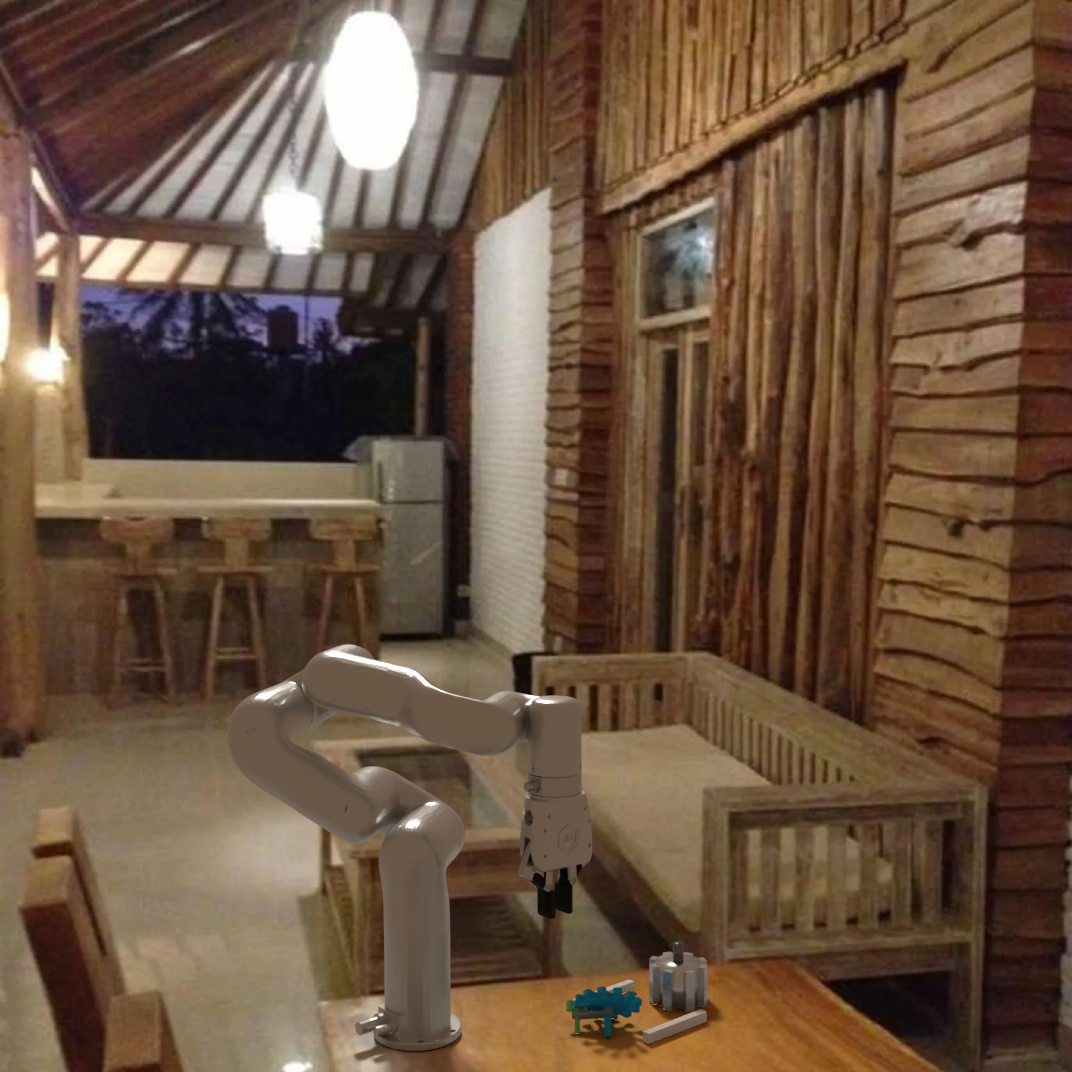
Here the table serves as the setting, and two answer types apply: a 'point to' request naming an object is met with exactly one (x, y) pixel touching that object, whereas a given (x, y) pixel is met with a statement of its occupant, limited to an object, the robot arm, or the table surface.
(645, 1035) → the guide rails
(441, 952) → the robot arm
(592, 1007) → the gear
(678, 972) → the sun gear
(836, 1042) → the table surface
